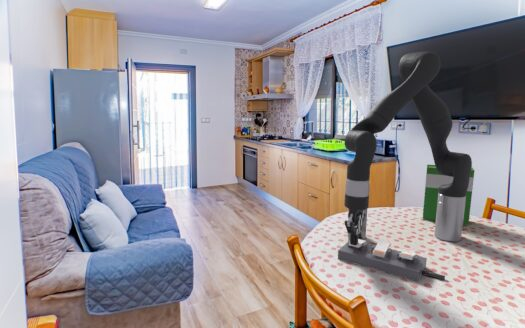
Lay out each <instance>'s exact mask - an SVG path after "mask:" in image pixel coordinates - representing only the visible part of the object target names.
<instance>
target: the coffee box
mask: <svg viewBox="0 0 525 328" xmlns="http://www.w3.org/2000/svg"><path fill="white" fill-rule="evenodd" d="M363 213H365V214H366V216H365V219H364V222H363V226H362V229H361V230H360V233H358V234H359V236H358V239H361V240H365V241H366V237H367V224H368V223H367V220H368V208H367V209H365V210H363ZM350 234H351V233H348V232H347V242H348V241H349V240H350Z"/></svg>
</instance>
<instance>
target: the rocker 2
mask: <svg viewBox="0 0 525 328" xmlns="http://www.w3.org/2000/svg"><path fill="white" fill-rule="evenodd" d="M390 247H391V242H387V241H383V240H378V242H377V244H376V247H375V249H374V251H373V255H375V256H379V257H383V258H384V257H385V255H386V253H387V251H388V249H390Z"/></svg>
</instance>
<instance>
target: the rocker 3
mask: <svg viewBox="0 0 525 328" xmlns="http://www.w3.org/2000/svg"><path fill="white" fill-rule="evenodd" d="M416 255H417V253H415V252H412V251H411V252H410V251H407V250H403V251H401V253H399V257H402V258H406V259H410V260H412V259H414V258H415V256H416Z"/></svg>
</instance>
